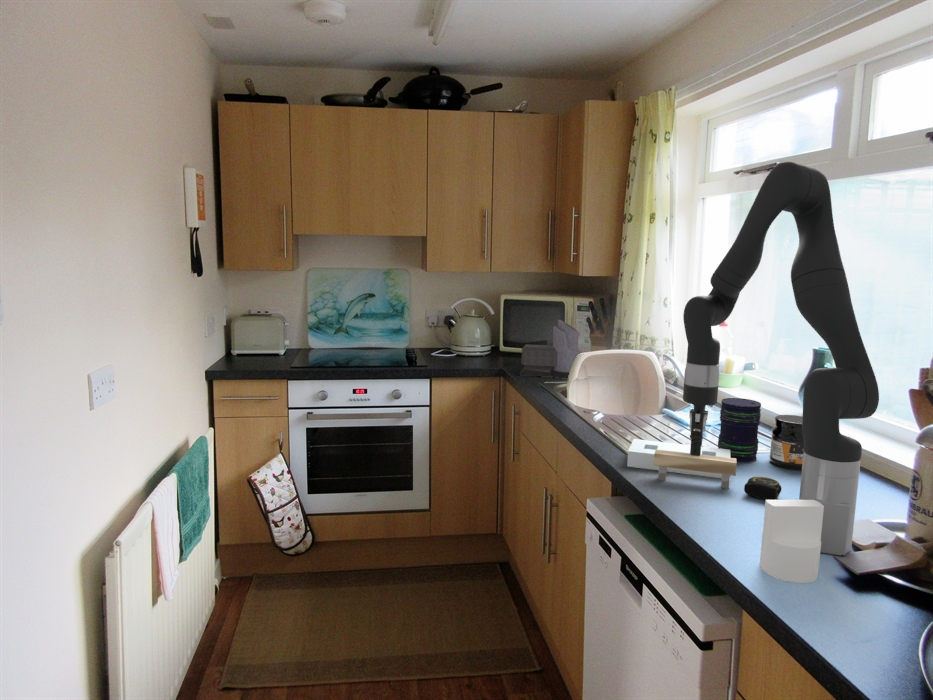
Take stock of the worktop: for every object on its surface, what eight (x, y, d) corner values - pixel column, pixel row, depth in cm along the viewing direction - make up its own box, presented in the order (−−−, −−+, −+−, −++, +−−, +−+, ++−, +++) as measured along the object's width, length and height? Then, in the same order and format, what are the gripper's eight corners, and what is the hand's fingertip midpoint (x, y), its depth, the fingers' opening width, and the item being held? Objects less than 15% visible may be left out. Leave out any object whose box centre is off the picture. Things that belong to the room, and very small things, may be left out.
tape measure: (742, 497, 149) (743, 481, 148) (752, 489, 154) (753, 473, 154) (774, 505, 145) (776, 488, 144) (783, 496, 150) (785, 480, 149)
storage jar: (714, 458, 176) (718, 403, 174) (719, 449, 185) (723, 396, 183) (755, 465, 172) (760, 408, 169) (758, 455, 180) (763, 400, 178)
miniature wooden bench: (734, 490, 153) (736, 463, 152) (652, 479, 159) (654, 453, 158) (734, 485, 156) (736, 458, 155) (654, 475, 162) (655, 449, 161)
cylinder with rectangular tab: (800, 558, 119) (806, 493, 117) (829, 583, 110) (836, 513, 109) (750, 558, 119) (755, 493, 117) (775, 583, 110) (781, 513, 108)
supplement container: (768, 467, 170) (772, 421, 168) (769, 455, 180) (773, 412, 178) (814, 473, 166) (819, 426, 164) (813, 461, 175) (818, 417, 173)
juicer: (588, 374, 297) (591, 319, 293) (588, 380, 281) (591, 322, 277) (521, 370, 302) (522, 316, 298) (517, 377, 286) (518, 320, 283)
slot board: (729, 479, 160) (730, 463, 160) (627, 466, 169) (628, 451, 168) (729, 464, 171) (730, 449, 171) (633, 453, 180) (633, 438, 179)
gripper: (717, 390, 146) (712, 461, 149) (719, 378, 159) (713, 443, 162) (681, 386, 149) (676, 457, 152) (686, 375, 162) (681, 440, 165)
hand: (696, 450), depth 157 cm, fingers open, 8 cm apart
